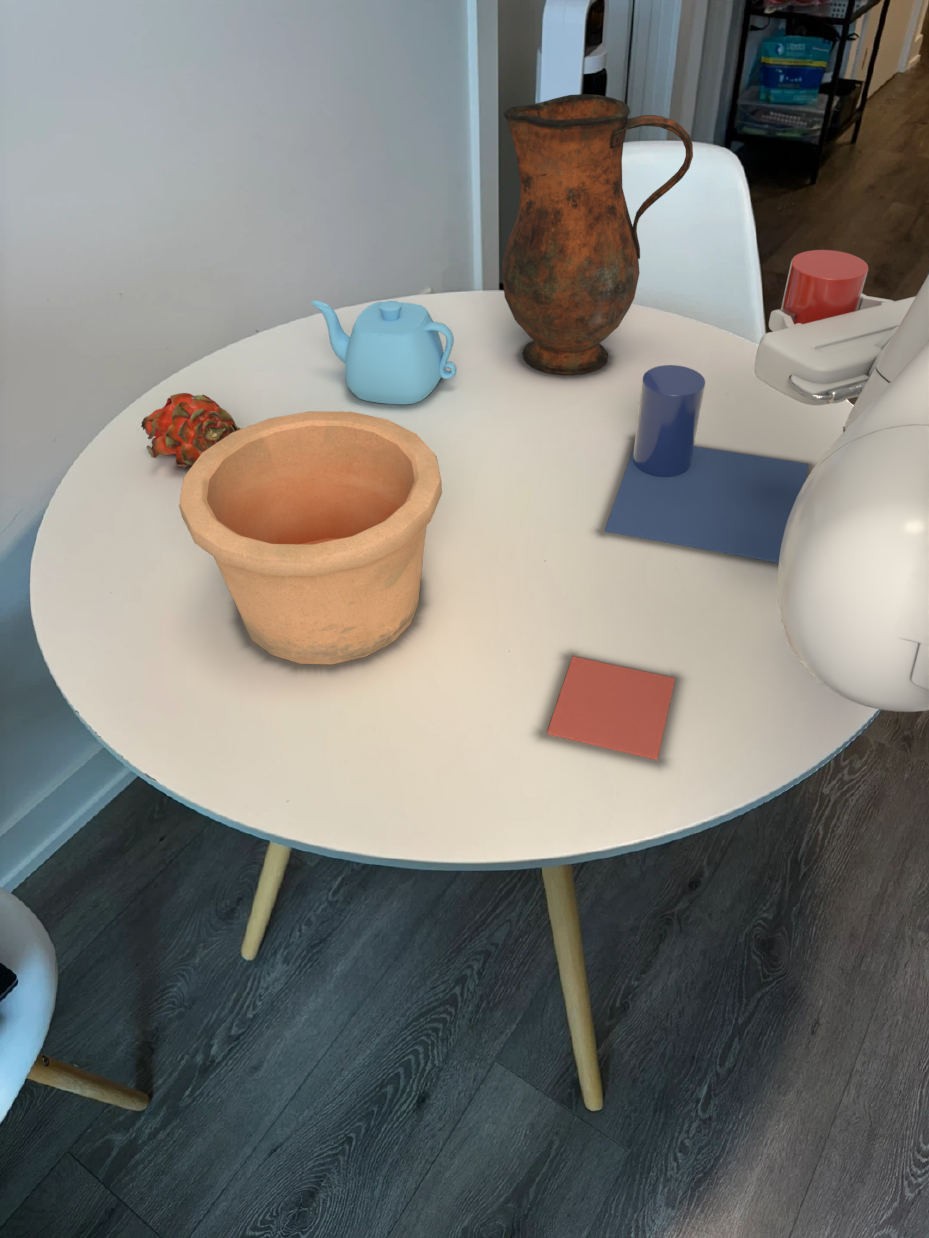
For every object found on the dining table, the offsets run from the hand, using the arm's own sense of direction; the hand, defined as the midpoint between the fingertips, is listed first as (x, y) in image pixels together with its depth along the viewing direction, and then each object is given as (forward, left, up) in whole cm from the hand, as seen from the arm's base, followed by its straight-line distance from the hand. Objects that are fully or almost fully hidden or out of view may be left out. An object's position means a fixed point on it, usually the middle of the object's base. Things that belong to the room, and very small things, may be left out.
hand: (811, 308), depth 84 cm
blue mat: (+6, +2, -21) cm, 22 cm away
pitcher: (+26, -24, -21) cm, 41 cm away
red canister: (-1, +1, -6) cm, 6 cm away
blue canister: (+12, -3, -21) cm, 24 cm away
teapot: (+48, -11, -21) cm, 53 cm away
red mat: (+10, +34, -21) cm, 41 cm away
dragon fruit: (+63, +11, -21) cm, 67 cm away
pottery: (+38, +29, -21) cm, 52 cm away
